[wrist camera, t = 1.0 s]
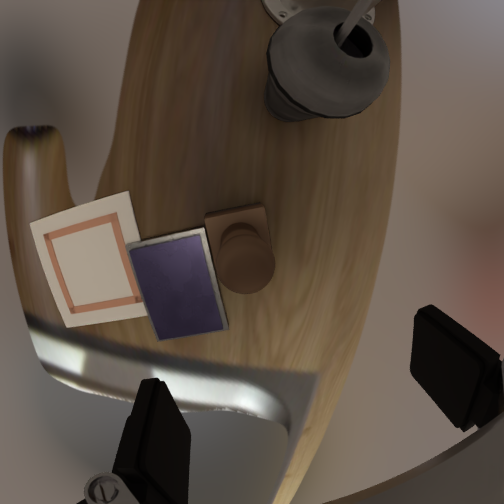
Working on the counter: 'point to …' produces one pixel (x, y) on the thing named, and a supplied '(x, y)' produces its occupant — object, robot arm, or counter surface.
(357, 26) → the beverage cup
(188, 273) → the ink pad
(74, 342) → the counter surface
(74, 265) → the print card
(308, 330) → the counter surface
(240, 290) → the stamp
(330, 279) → the counter surface
